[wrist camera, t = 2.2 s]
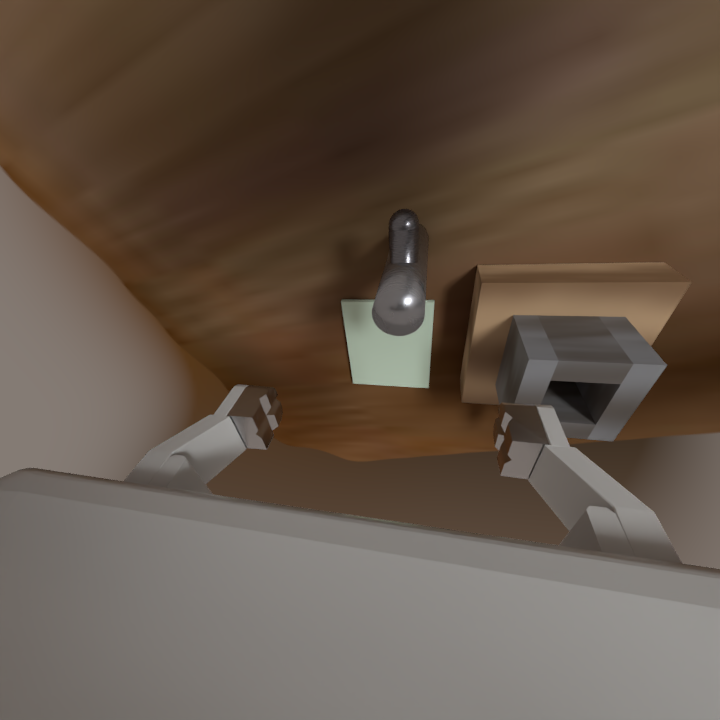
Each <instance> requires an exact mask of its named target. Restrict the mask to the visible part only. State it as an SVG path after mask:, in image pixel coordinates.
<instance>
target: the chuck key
mask: <svg viewBox="0 0 720 720" xmlns="http://www.w3.org/2000/svg"><path fill="white" fill-rule="evenodd" d="M428 241H429V237H428V233H427V231H426V229H425V228H424V227H423V226H422V225H421V224H419V219H418V217H417V215H416V214H415V213H414V212H413V211H412V210H409V209H400V210H398V211H396V212H395V213H394V214H393V215H392V217H391V218H390V221H389V254H388V257H387V261H386V264H385V267H384V271H383V274H382V277H381V281H380V284H379V287H378V291H377V294H376V297H375V301H374V304H373V307H372V318H373V321H374V323H375V324H376V326H377V327H378V328H379V329H380V330H382V331H383V332H385V333H387V334H389V335H393V336H405V335H409V334H411V333H413V332H415V331H416V330H417V329H419V327H420V326H421V325H422V323H423V321H424V317H425V300H426V280H427V261H428Z"/></svg>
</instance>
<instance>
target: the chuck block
mask: <svg viewBox="0 0 720 720" xmlns="http://www.w3.org/2000/svg"><path fill="white" fill-rule="evenodd" d="M691 283H692V282H691V281H689V280H688V279H687V278H685V277H684V276H683V275H681V274H680V273H678V272H677V271H676V270H674V269H673V268H672V267H670V266H669V265H667V264H666V263H665V262H644V263H577V264H511V265H477V271H476V277H475V284H474V291H473V297H472V304H471V310H470V317H469V323H468V330H467V336H466V343H465V349H464V356H463V362H462V369H461V375H460V389H461V401H462V402H463V403H477V404H491V405H500V404H501V402H502V403H519V404H533V405H534V404H536V405H551V406H552V407H553V408H554V410H555V412H556V414H557V417H558V419H559V422H560V424H561V426H562V429H563V431H564V434H565V436H566V437H568V438H579V439H591V440H603V441H614V439H615V438H616V436H617V435H618V434H619V432H620V431H621V429H622V428H623V427H624V425H625V424H626V422H627V421H628V420H629V418H630V417H631V415H632V414H633V413H634V411H635V410H636V408H637V407H638V406H639V404H640V403H641V401H642V400H643V399H644V397H645V396H646V394H647V393H648V392H649V390H650V389H651V387H652V386H653V384H654V383H655V382H656V380H657V379H658V377H659V376H660V375H661V373H662V372H663V370H664V369H665V368H666V366H667V364H666V363H665V362H664V361H663V360H662V359H661V358H660V356H659V355H658V354H657V353H656V352H655V351H654V349H653V348H652V347H651V346H652V344H653V342H654V341H655V339H656V338H657V336H658V334H659V333H660V331H661V330H662V328H663V327H664V325H665V323H666V322H667V320H668V319H669V317H670V316H671V314H672V312H673V311H674V309H675V308H676V306H677V305H678V303H679V301H680V300H681V298H682V297H683V295H684V294H685V292H686V290H687V289H688V287H689V286H690V284H691Z"/></svg>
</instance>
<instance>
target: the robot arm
mask: <svg viewBox="0 0 720 720" xmlns="http://www.w3.org/2000/svg"><path fill="white" fill-rule="evenodd" d="M277 395H278V394H277V391H276V389H275V388H273V387H264V386H253V385H240V384H238V385H236V386H234V387H233V389H232V390H231V391H230V393H229V394H228V395H227V397H226V398H225V400H224V401H223V402H222V404H221V405H220V406H219V408H218V409H217V411H216V412H215V413H214V415H208V416H207V417H205V418H203V419H202V420H200V421H198V422H197V423H195V424H193V425H191V426H190V427H188V428H186V429H185V430H183V431H181V432H180V433H178V434H176V435H175V436H173V437H171V438H169V439H168V440H166V441H164V442H163V443H161V444H159V445H158V446H156V447H154V448H153V449H151V450H150V451H148V453H147V454H146V455H145V456H144V457H143V459H142V460H141V461H140V462H139V463H138V464H137V466H136V467H135V468H134V469H133V470H132V472H131V473H130V474H129V475H128V476H127V478H126V479H125V480H124V481H118V480H111V479H104V478H97V477H91V476H84V475H77V474H71V473H64V472H57V471H51V470H44V469H38V468H26V469H21V470H18V471H15V472H13V473H11V474H8V475H6V476H3V477H1V478H0V720H720V569H716V568H709V567H701V566H695V565H688V564H682V562H681V560H680V558H679V556H678V555H677V553H676V551H675V549H674V547H673V546H672V544H671V542H670V540H669V538H668V536H667V535H666V533H665V531H664V529H663V527H662V525H661V524H660V522H659V520H658V518H657V516H656V515H655V513H654V512H653V511H652V510H651V509H649V508H648V507H647V506H646V505H645V504H643V503H642V502H641V501H640V500H639V499H637V498H636V497H635V496H634V495H633V494H631V493H630V492H629V491H628V490H626V489H625V488H624V487H623V486H622V485H620V484H619V483H618V482H617V481H615V480H614V479H613V478H612V477H611V476H609V475H608V474H607V473H606V472H605V471H603V470H602V469H601V468H600V467H598V466H597V465H596V464H595V463H594V462H592V461H591V460H590V459H589V458H587V457H586V456H585V455H584V454H583V453H581V452H580V451H579V450H577V449H576V448H574V447H570V446H569V443H568V441H567V438H566V436H565V434H564V431H563V429H562V426H561V424H560V422H559V419H558V417H557V414H556V412H555V410H554V408H553V407H552V406H551V405H536V404H534V405H533V404H519V403H502V402H501V404H500V405H499V408H498V413H499V417H498V418H497V419H495V423H494V432H493V436H494V444H495V447H496V448H497V449H498V450H499V453H498V457H497V460H498V465H499V470H500V475H501V476H507V477H515V478H522V479H529V482H530V483H531V485H532V486H533V487H534V488H535V489H536V491H537V492H538V493H539V494H540V495H541V497H542V498H543V499H544V501H545V502H546V503H547V504H548V505H549V507H550V508H551V509H552V510H553V512H554V513H555V514H556V515H557V516H558V518H559V519H560V520H561V521H562V523H563V524H564V525H565V526H566V528H567V529H568V530H569V531H570V532H569V533H568V534H567V536H566V537H565V538H564V539H563V541H562V542H561V544H560V545H552V544H545V543H539V542H532V541H525V540H518V539H511V538H505V537H498V536H491V535H484V534H478V533H471V532H464V531H457V530H450V529H444V528H436V527H430V526H423V525H417V524H410V523H403V522H396V521H390V520H383V519H375V518H369V517H362V516H356V515H349V514H342V513H334V512H328V511H321V510H314V509H308V508H301V507H294V506H287V505H281V504H274V503H267V502H260V501H253V500H246V499H240V498H233V497H226V496H219V495H213V494H212V492H211V491H210V490H209V489H208V487H207V486H206V484H207V483H208V482H209V481H210V480H211V479H212V478H214V477H215V476H216V475H217V474H218V473H219V472H221V471H222V470H223V469H224V468H225V467H226V466H228V465H229V464H230V463H231V462H232V461H233V460H234V459H236V458H237V457H238V456H239V455H240V454H241V453H242V452H244V451H245V450H246V448H253V449H265V450H267V448H268V446H269V444H270V442H271V440H272V438H273V436H274V434H273V431H272V430H274V429H275V428H276V427H278V426H279V424H280V422H281V419H282V413H283V412H282V405H281V403H280V402H279V401H278V400H277V399H276V397H277Z"/></svg>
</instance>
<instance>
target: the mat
mask: <svg viewBox="0 0 720 720" xmlns="http://www.w3.org/2000/svg"><path fill="white" fill-rule="evenodd" d="M374 301H375V300H352V299H342V300H341V306H342V312H343V319H344V326H345V332H346V339H347V346H348V352H349V359H350V365H351V372H352V379H353V383H355V384H370V385H386V386H402V387H418V388H429V374H430V359H431V344H432V329H433V314H434V300H425V317H424V321H423V323H422V325H421V326H420V327H419V329H417V330H416V331H415V332H413V333H411V334H409V335H405V336H393V335H389V334H387V333H385V332H383V331H382V330H380V329H379V328H378V327H377V326H376V324H375V323H374V321H373V318H372V307H373V304H374Z"/></svg>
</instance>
